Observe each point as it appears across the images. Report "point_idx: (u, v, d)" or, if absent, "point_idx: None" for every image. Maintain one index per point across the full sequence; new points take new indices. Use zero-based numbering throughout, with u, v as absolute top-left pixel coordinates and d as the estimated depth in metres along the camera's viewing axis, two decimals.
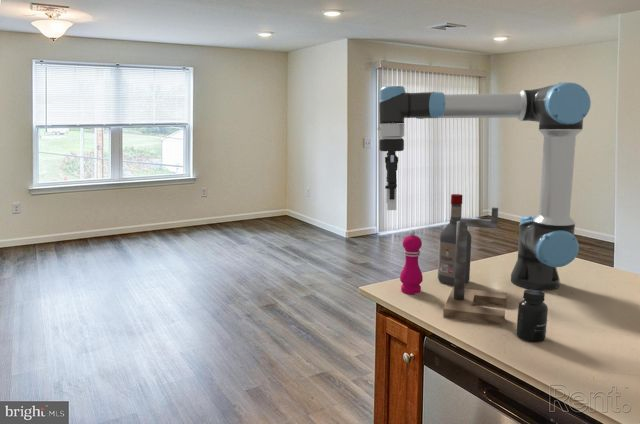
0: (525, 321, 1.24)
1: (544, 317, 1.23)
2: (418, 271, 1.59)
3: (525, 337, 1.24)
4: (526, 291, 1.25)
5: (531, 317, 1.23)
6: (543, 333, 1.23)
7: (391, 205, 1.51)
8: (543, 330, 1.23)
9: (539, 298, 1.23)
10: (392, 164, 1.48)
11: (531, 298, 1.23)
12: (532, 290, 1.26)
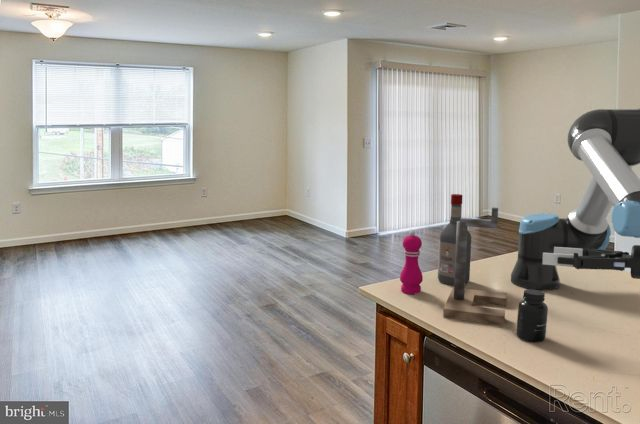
0: (525, 321, 1.24)
1: (544, 317, 1.23)
2: (418, 271, 1.59)
3: (525, 337, 1.24)
4: (526, 291, 1.25)
5: (531, 317, 1.23)
6: (543, 333, 1.23)
7: None
8: (543, 330, 1.23)
9: (539, 298, 1.23)
10: None
11: (531, 298, 1.23)
12: (532, 290, 1.26)
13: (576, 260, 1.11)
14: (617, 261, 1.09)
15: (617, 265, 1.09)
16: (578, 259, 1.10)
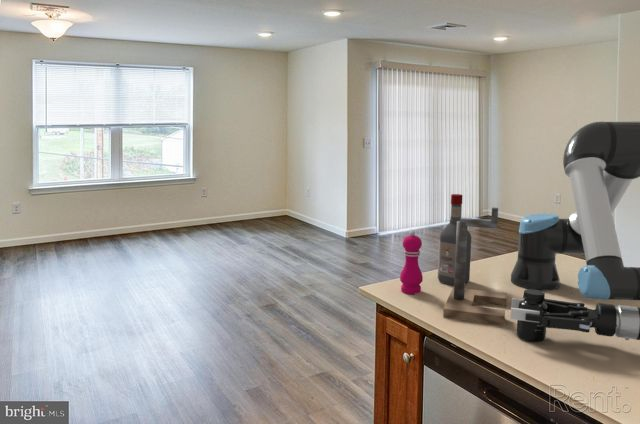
0: (525, 321, 1.24)
1: None
2: (418, 271, 1.59)
3: (525, 337, 1.24)
4: (526, 291, 1.25)
5: None
6: (543, 333, 1.23)
7: None
8: (543, 330, 1.23)
9: (539, 298, 1.23)
10: None
11: (531, 298, 1.23)
12: (532, 290, 1.26)
13: (544, 319, 1.18)
14: (582, 323, 1.16)
15: (582, 327, 1.16)
16: (546, 319, 1.18)
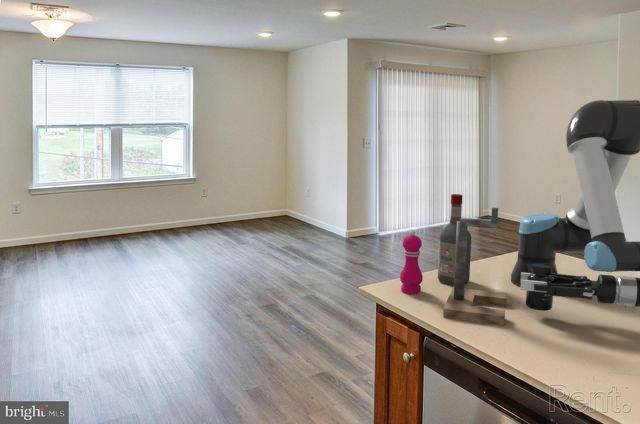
0: (534, 291, 1.36)
1: None
2: (418, 271, 1.59)
3: (534, 306, 1.37)
4: (534, 265, 1.38)
5: None
6: (550, 302, 1.36)
7: None
8: (550, 300, 1.36)
9: (546, 270, 1.35)
10: None
11: (539, 270, 1.36)
12: (540, 264, 1.39)
13: (551, 288, 1.31)
14: (585, 291, 1.28)
15: (585, 295, 1.29)
16: (553, 288, 1.31)
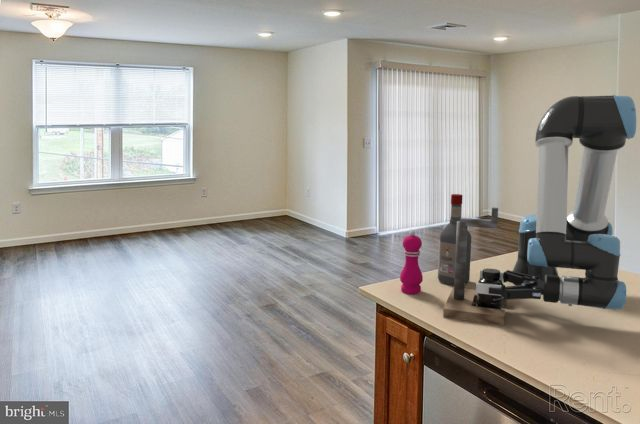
0: (483, 295, 1.42)
1: None
2: (418, 271, 1.59)
3: None
4: (484, 270, 1.43)
5: None
6: (499, 306, 1.42)
7: None
8: (499, 304, 1.42)
9: (495, 275, 1.41)
10: None
11: (488, 275, 1.41)
12: (490, 269, 1.44)
13: (504, 292, 1.33)
14: (535, 292, 1.33)
15: (535, 295, 1.33)
16: (506, 291, 1.33)
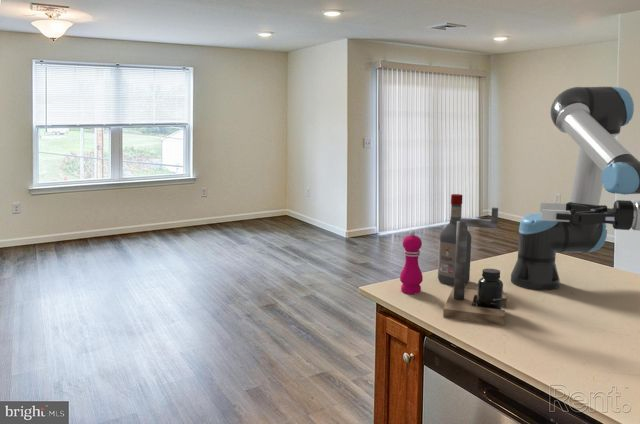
0: (483, 295, 1.42)
1: (499, 292, 1.41)
2: (418, 271, 1.59)
3: None
4: (484, 270, 1.43)
5: (488, 292, 1.41)
6: (499, 306, 1.42)
7: None
8: (499, 304, 1.42)
9: (495, 275, 1.41)
10: None
11: (488, 275, 1.41)
12: (490, 269, 1.44)
13: (575, 216, 1.24)
14: (608, 216, 1.24)
15: (608, 219, 1.24)
16: (577, 215, 1.23)
